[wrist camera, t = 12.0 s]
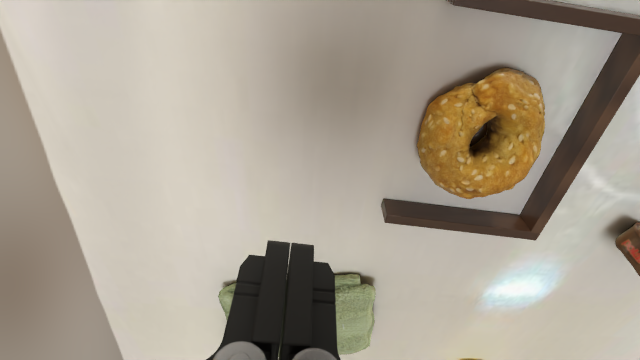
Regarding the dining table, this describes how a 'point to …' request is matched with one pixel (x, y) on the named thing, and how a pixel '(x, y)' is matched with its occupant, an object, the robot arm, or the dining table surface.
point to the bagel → (496, 146)
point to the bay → (585, 131)
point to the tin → (631, 245)
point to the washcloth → (339, 312)
